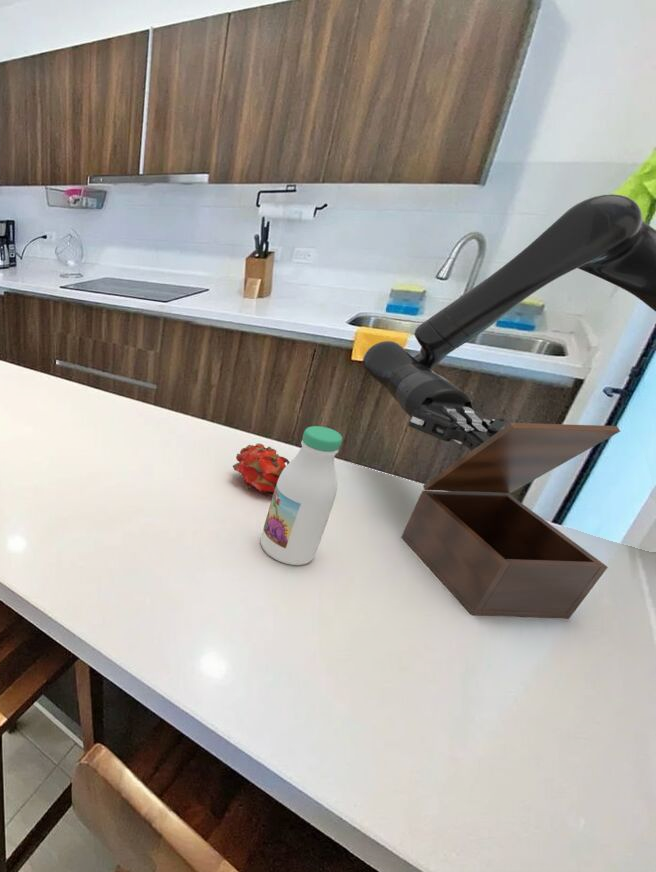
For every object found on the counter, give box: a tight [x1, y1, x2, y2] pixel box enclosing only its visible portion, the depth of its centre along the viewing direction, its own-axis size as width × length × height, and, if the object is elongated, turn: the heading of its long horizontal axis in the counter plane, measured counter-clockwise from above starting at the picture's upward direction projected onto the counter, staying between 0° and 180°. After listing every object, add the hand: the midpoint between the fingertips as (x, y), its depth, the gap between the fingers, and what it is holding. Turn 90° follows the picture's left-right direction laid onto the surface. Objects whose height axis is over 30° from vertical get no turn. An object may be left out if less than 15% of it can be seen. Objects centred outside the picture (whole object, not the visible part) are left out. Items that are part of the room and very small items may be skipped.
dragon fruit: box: [232, 443, 291, 497], centre depth 89 cm, size 8×8×12 cm
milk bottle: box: [260, 425, 343, 566], centre depth 71 cm, size 8×8×20 cm
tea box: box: [400, 490, 609, 619], centre depth 70 cm, size 16×13×9 cm
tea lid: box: [422, 422, 621, 494], centre depth 67 cm, size 17×13×1 cm
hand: (488, 451), depth 67 cm, fingers closed
